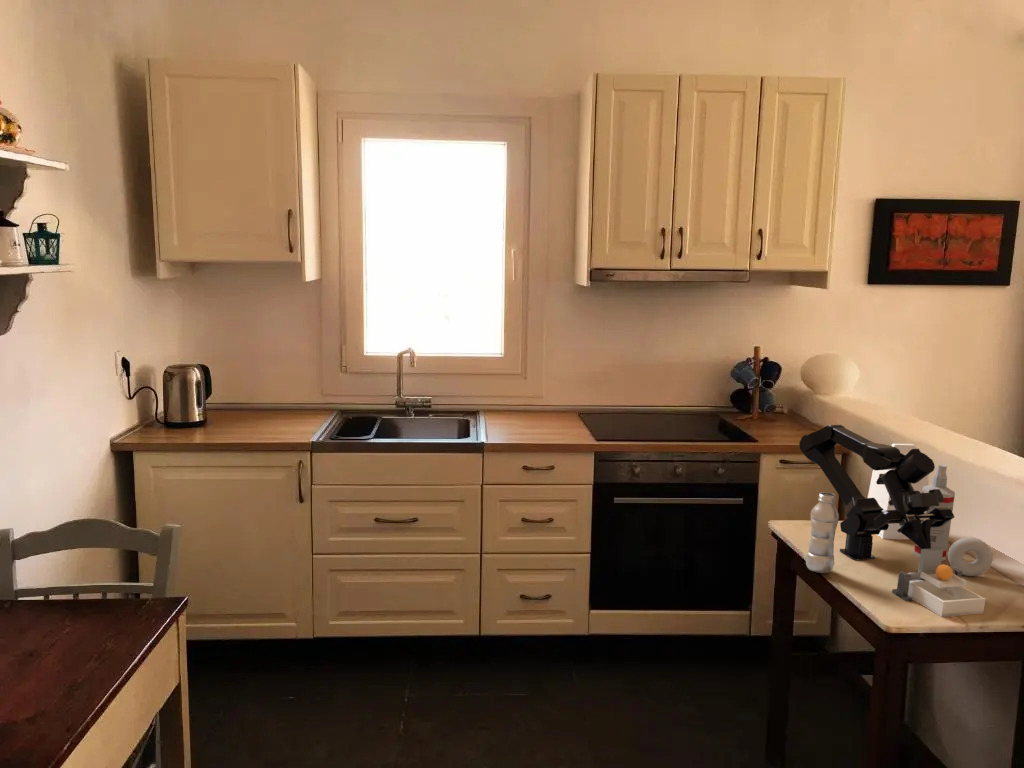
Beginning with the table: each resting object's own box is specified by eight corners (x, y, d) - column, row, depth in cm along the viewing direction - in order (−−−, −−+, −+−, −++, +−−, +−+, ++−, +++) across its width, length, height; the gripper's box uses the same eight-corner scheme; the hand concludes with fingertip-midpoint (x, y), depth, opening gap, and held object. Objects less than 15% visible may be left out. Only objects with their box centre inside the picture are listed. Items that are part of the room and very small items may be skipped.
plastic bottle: (835, 577, 198) (844, 499, 194) (806, 574, 199) (815, 496, 196) (830, 567, 204) (839, 491, 200) (802, 564, 205) (810, 489, 202)
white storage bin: (905, 595, 189) (907, 581, 189) (946, 592, 192) (948, 578, 191) (941, 616, 179) (943, 602, 178) (983, 613, 181) (985, 598, 181)
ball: (931, 576, 187) (933, 562, 186) (943, 575, 188) (945, 561, 187) (942, 583, 183) (944, 568, 183) (955, 582, 184) (957, 567, 184)
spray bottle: (933, 562, 210) (946, 470, 206) (907, 552, 216) (919, 462, 212) (952, 558, 214) (965, 467, 209) (926, 548, 220) (938, 460, 216)
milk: (901, 525, 239) (913, 439, 234) (923, 539, 227) (935, 450, 223) (862, 524, 238) (873, 438, 233) (882, 538, 226) (893, 449, 222)
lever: (885, 582, 195) (890, 540, 193) (928, 579, 198) (934, 538, 196) (926, 607, 182) (932, 563, 180) (972, 603, 185) (979, 560, 183)
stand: (891, 592, 191) (894, 569, 190) (948, 588, 194) (951, 565, 193) (906, 601, 186) (909, 577, 185) (964, 597, 190) (967, 573, 189)
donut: (987, 575, 203) (993, 538, 201) (991, 581, 200) (997, 542, 198) (943, 570, 206) (949, 532, 204) (947, 575, 202) (952, 537, 201)
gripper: (887, 478, 190) (915, 539, 181) (954, 475, 194) (984, 535, 186) (861, 499, 199) (887, 559, 190) (926, 497, 203) (953, 555, 195)
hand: (928, 552), depth 190 cm, fingers closed
